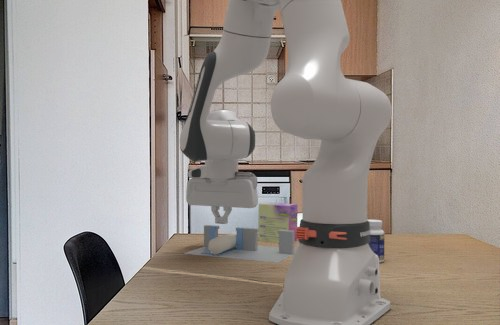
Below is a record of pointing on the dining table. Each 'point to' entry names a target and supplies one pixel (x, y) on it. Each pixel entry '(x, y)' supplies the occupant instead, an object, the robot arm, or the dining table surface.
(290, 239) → the base plate with posts
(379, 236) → the pill bottle
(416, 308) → the dining table surface
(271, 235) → the box
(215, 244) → the cream bolster roll
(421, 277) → the dining table surface
